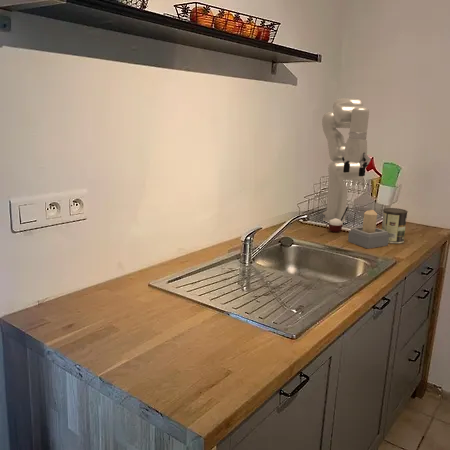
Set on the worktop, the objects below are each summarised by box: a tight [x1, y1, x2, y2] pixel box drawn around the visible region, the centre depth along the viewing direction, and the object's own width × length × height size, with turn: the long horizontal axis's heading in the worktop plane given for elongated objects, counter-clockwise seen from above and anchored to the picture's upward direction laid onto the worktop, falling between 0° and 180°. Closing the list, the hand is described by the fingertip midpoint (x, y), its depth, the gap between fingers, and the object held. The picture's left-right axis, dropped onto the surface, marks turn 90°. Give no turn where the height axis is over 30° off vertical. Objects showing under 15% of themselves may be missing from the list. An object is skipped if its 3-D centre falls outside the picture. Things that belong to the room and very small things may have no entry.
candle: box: [362, 209, 378, 233], centre depth 217 cm, size 6×6×10 cm
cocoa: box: [325, 206, 349, 233], centre depth 237 cm, size 10×6×12 cm, turn 61°
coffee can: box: [381, 207, 409, 244], centre depth 224 cm, size 10×10×14 cm
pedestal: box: [347, 226, 389, 249], centre depth 219 cm, size 12×12×6 cm
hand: (353, 174), depth 226 cm, fingers open, 9 cm apart
